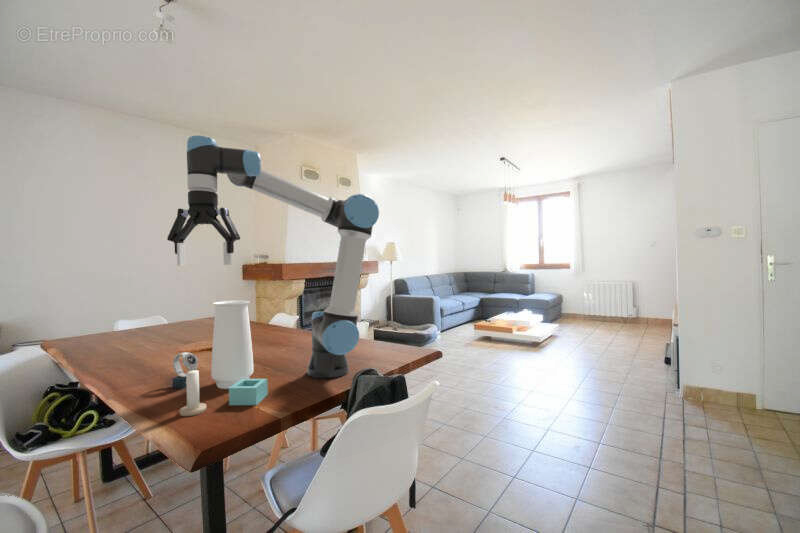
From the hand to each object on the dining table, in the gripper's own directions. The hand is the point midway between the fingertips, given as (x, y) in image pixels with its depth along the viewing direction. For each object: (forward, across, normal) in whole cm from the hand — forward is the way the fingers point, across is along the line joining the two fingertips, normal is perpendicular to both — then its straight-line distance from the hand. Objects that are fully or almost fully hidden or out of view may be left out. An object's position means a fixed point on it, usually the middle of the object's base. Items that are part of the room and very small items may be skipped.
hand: (204, 265), depth 101 cm
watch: (+41, +18, -16) cm, 47 cm away
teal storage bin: (+41, -11, -4) cm, 42 cm away
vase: (+41, +2, -17) cm, 44 cm away
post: (+41, +1, +5) cm, 41 cm away
